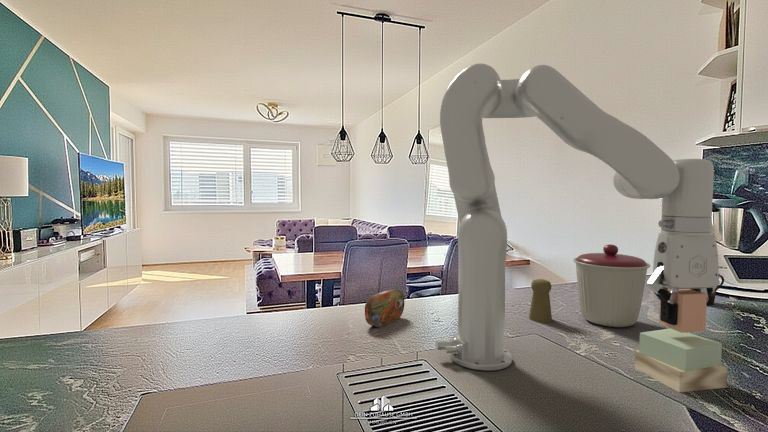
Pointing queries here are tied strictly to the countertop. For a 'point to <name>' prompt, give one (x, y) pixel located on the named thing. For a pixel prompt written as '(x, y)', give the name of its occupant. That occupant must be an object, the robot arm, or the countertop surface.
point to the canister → (610, 287)
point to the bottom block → (682, 375)
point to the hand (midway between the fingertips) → (681, 321)
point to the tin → (384, 307)
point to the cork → (540, 301)
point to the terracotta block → (689, 311)
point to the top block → (680, 349)
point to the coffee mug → (714, 292)
